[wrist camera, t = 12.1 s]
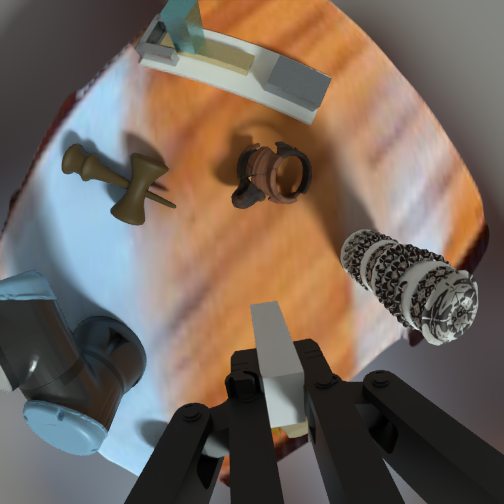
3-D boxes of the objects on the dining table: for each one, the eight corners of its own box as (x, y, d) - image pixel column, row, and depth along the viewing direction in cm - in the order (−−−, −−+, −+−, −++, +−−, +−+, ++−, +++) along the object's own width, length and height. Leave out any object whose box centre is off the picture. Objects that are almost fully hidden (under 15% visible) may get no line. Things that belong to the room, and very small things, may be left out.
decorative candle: (366, 290, 48) (452, 368, 24) (327, 262, 47) (409, 337, 22) (395, 247, 47) (499, 297, 23) (359, 216, 45) (465, 251, 21)
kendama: (89, 131, 40) (194, 176, 42) (68, 184, 42) (168, 234, 44) (71, 126, 34) (186, 175, 36) (49, 186, 36) (157, 242, 38)
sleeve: (323, 85, 39) (331, 78, 35) (312, 112, 40) (320, 106, 36) (276, 64, 38) (279, 54, 34) (263, 90, 39) (266, 82, 35)
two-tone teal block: (254, 60, 37) (263, 17, 24) (246, 77, 38) (252, 37, 25) (171, 35, 35) (153, -9, 22) (162, 51, 36) (139, 10, 23)
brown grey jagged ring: (261, 128, 42) (297, 128, 35) (290, 172, 48) (326, 180, 41) (204, 182, 40) (233, 192, 34) (241, 224, 46) (273, 241, 40)
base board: (329, 79, 40) (330, 77, 39) (309, 125, 41) (311, 124, 40) (166, 22, 36) (165, 20, 35) (141, 65, 37) (139, 63, 36)
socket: (195, 32, 36) (192, 20, 32) (175, 66, 37) (170, 57, 33) (162, 24, 35) (157, 13, 31) (142, 58, 36) (135, 48, 32)
